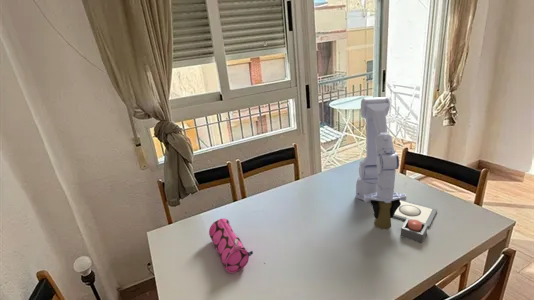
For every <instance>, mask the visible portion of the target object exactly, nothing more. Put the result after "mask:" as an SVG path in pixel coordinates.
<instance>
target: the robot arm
mask: <svg viewBox="0 0 534 300" xmlns="http://www.w3.org/2000/svg"><path fill="white" fill-rule="evenodd" d="M390 107H391V102H390V98H389V96H381V97H379V96H378V97H366V98H365V97H362V99H361V102H360V115H361V116H360V117H361V118H363V119H364V121H365V123H366V124H365V125H366V126H365V129H366V130H365V132H366V134H365V137H366V139H365V140H366V141H365V142H366V144H365V146H366V148H365V149H366V150H365V152H366V153H365V154H366V155H365V157H364V158H363V159H362V160H360V161H359V167H358V175H359V177H358V178H357V180H356V185H355V197H354V198H355V199H358V200H360V201H363V202H364V203H370V204H371V207H372V210H373V215H374V218H378V208H379V205H378V202H377V201H384V202H385V203H391V201H392V206H391V208H390V215H391V219H393V218H394V217H393V216H394V213H395V212H396V210H397V209H398V207H399V206H400V205H401V203H400V200H403V201H407V195H406V193H400V192H395V183H396V182H395V181H396V174H397V173H396V170H399V167H400V158H399V154H398V152H397V151H396V150H395V148H394V147H395V146H394V142H393V138H392V136H391V134H389V133H388V125H387V117H386V116H388V113H389V111H390Z"/></svg>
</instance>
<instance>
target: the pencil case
mask: <svg viewBox="0 0 534 300" xmlns="http://www.w3.org/2000/svg"><path fill="white" fill-rule="evenodd" d="M208 235H209V237H210V240H211V241H212V243H213V245H214V248H215V250H216V252H217V253H218V257H219V258H220V260H221V263H222V265H223V267H224V269H225V270H226V272H228V273H229V274H232V273H233V274H234V273H237V272H239V271H241V270H242V269H243V268H245V267H246V266H247V264H248V263H249V259H250V257H251V256H252V255H253V254H254V252H253V251H252V250H251V251H248V250H247V249H246V248H245V247H244V244H243V243H242V241H241V239H240V238H239V237H238V236H237V234H235V232H234V230H233V228H232V226H231V224H230V221H229V220H228V219H227V218H223V217H221V218H219V219H217V220H216V221H214V222H213V223H212V224H211V225H210V226H209V231H208Z"/></svg>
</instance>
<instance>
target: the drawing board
mask: <svg viewBox="0 0 534 300" xmlns="http://www.w3.org/2000/svg"><path fill="white" fill-rule="evenodd" d="M400 203H401V205H400V206H399V207H398V209H397V210H396V212H395V213H394V216H393V218H395V219H397V220H400V221H404V222H405V221H406V219H407V218H408V219H412V220H418V221H420V222H422V223H425V224H428V228H427V229H430V226H431V225H432V222H433V221H434V219H435V216H436V215H437V212H438V208H435V207H430V206H427V205H422V204H419V203H415V202H411V201H408V200H406V201H403V200H400Z"/></svg>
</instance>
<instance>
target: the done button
mask: <svg viewBox="0 0 534 300" xmlns="http://www.w3.org/2000/svg"><path fill="white" fill-rule="evenodd" d="M421 228H422V223H421V222H420V221H418V220H409V221H408V229H410V230H414V231H417V232H421Z"/></svg>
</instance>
